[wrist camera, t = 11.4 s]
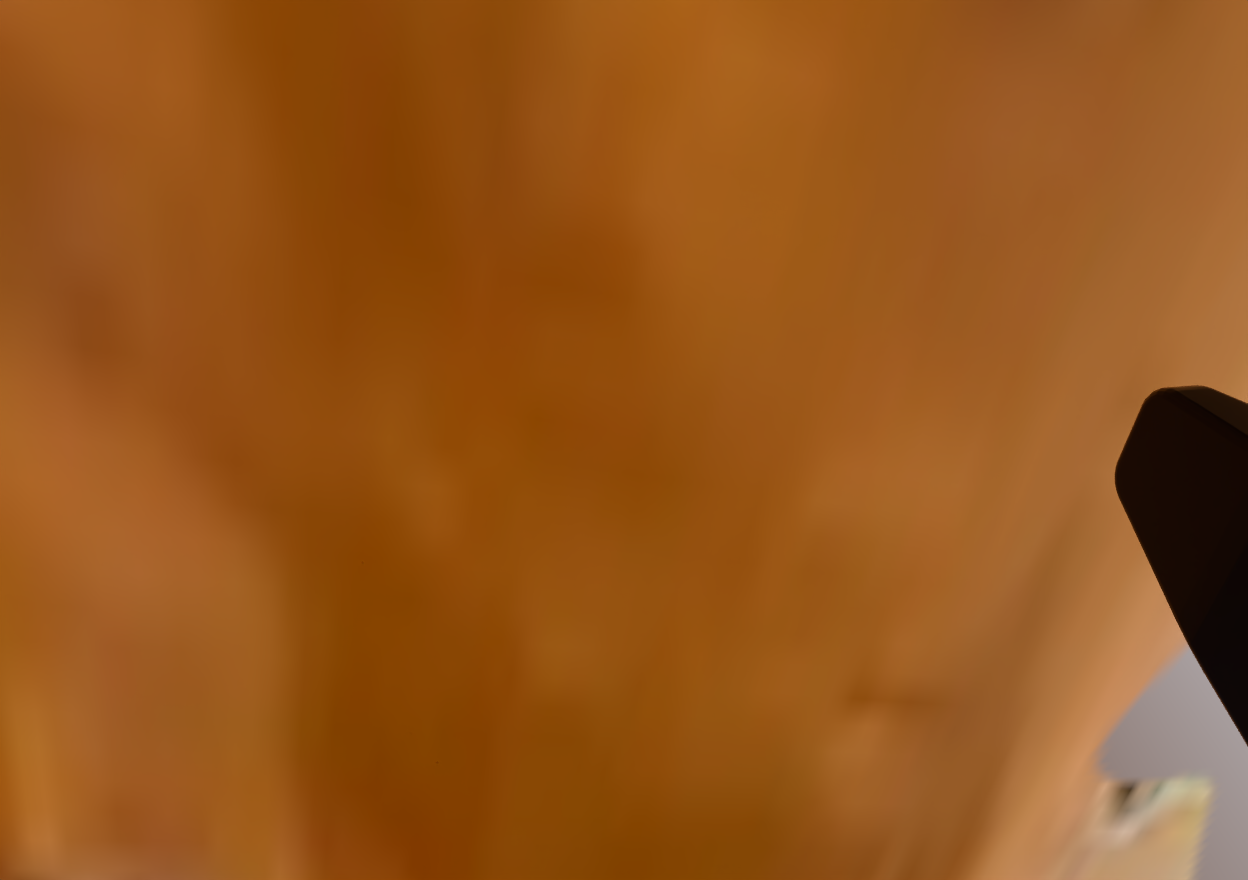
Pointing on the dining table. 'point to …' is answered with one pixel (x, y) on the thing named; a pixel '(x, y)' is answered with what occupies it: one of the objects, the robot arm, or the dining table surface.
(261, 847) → the dining table surface
